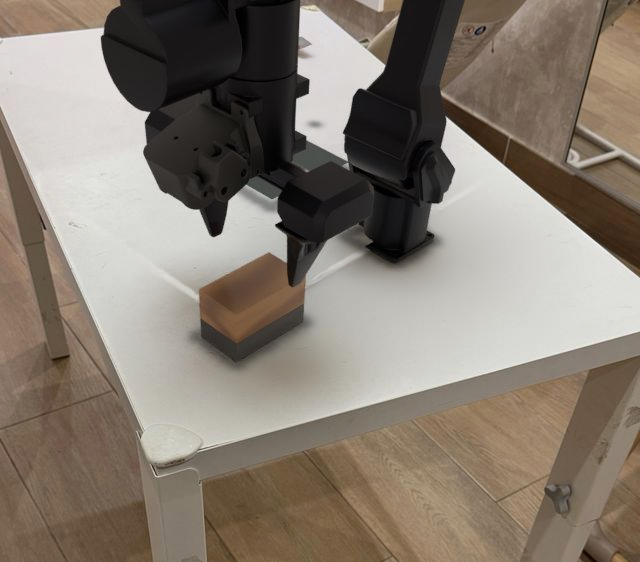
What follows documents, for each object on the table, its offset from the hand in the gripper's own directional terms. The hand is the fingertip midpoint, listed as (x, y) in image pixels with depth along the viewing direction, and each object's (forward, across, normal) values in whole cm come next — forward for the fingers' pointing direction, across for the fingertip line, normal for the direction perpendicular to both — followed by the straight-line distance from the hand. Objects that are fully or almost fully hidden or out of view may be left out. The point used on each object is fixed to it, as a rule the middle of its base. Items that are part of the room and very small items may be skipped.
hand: (254, 259), depth 66 cm
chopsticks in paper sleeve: (+8, -41, +37) cm, 56 cm away
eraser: (+7, 0, 0) cm, 7 cm away
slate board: (+7, -22, +21) cm, 31 cm away
